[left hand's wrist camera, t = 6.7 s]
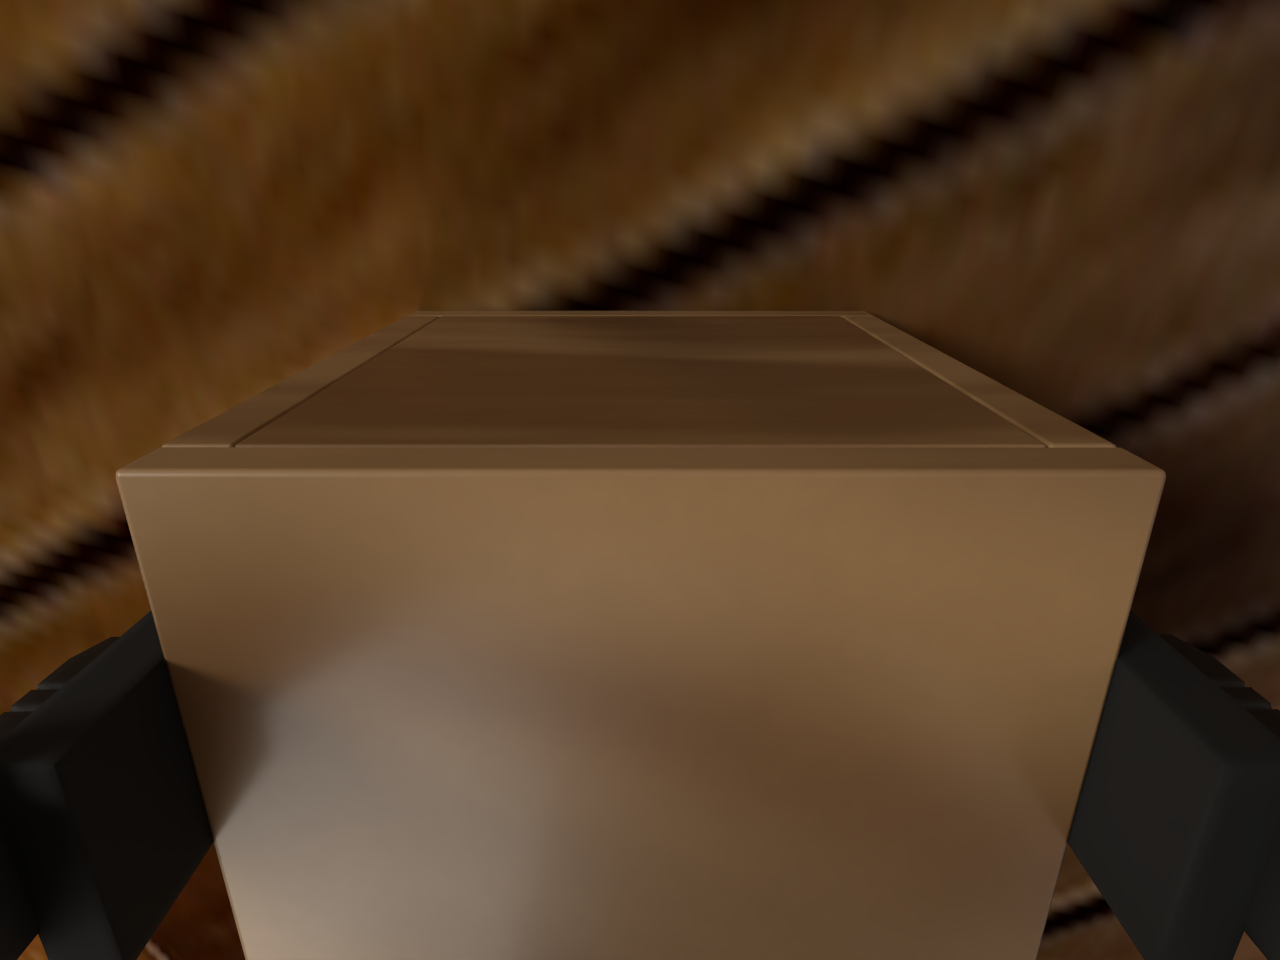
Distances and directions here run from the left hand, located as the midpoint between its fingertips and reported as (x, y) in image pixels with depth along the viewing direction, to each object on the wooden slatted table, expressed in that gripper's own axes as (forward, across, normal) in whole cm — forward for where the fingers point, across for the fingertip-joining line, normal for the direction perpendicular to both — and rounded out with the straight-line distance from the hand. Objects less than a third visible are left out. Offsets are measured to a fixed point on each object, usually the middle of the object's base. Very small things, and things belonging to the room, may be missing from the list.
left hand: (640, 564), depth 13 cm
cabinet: (+6, 0, -6) cm, 9 cm away
